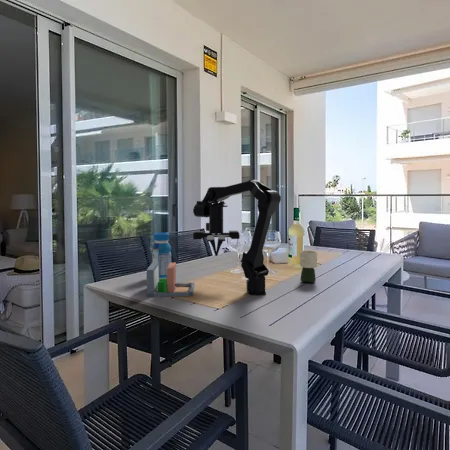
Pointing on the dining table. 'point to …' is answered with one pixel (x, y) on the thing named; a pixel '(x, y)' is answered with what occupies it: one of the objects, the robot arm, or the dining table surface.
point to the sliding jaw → (173, 278)
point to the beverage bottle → (162, 253)
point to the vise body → (154, 279)
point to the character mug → (308, 265)
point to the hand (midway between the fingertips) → (216, 255)
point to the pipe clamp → (162, 285)
